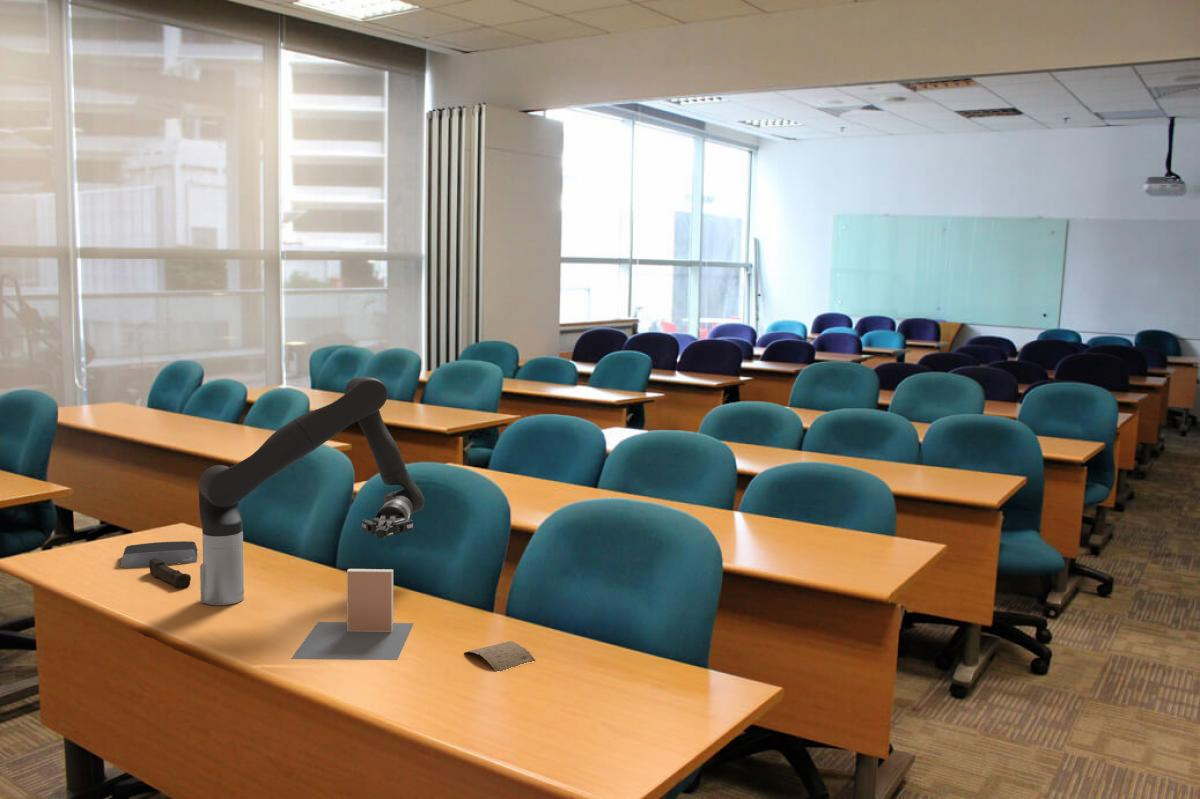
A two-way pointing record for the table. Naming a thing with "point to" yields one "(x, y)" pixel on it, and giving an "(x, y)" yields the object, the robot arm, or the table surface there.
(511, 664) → the clay tablet
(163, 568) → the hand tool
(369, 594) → the tile
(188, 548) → the external hard drive
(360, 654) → the mat
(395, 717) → the table surface
